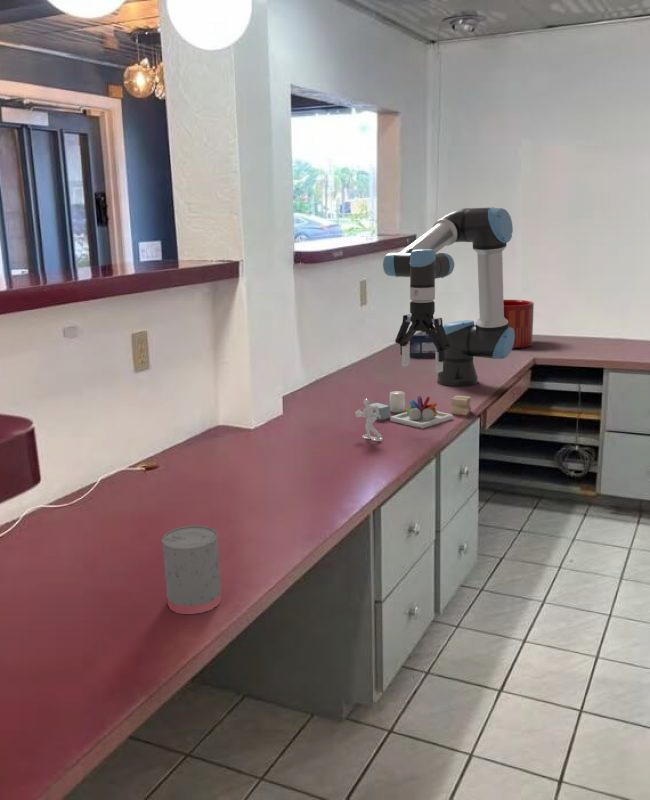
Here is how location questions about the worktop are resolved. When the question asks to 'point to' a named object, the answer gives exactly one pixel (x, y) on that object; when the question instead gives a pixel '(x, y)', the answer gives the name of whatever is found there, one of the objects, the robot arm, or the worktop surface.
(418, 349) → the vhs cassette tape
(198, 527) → the speckled grey cylinder
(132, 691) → the worktop surface
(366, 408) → the figurine
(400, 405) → the white domed cylinder
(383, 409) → the slate block
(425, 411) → the multicoloured rounded cluster
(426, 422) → the tray
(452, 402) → the oak block
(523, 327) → the planter
